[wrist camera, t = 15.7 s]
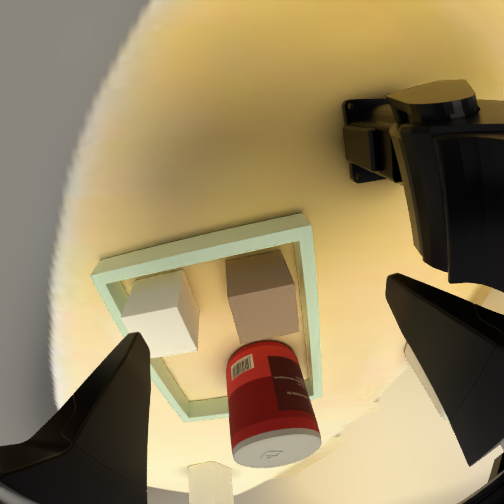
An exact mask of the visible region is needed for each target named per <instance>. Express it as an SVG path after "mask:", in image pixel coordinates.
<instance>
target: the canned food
mask: <svg viewBox="0 0 504 504" xmlns="http://www.w3.org/2000/svg"><path fill="white" fill-rule="evenodd" d="M226 379H227V395H228V410H229V423H230V436H231V445H232V453H233V458H234V461H235V462H236V463H238V464H240V465H243V466H247V467H252V468H270V467H278V466H283V465H288V464H291V463H294V462H297V461H300V460H302V459H304V458H306V457H308V456H310V455H311V454H313V453H314V452H315V451H317V450H318V449H319V447H320V446H321V436H320V432H319V429H318V424H317V421H316V418H315V414H314V411H313V408H312V405H311V401H310V398H309V395H308V392H307V389H306V385H305V382H304V379H303V376H302V372H301V369H300V366H299V363H298V360H297V357H296V356H295V354H294V353H293V352H292V350H291V349H290V348H289V347H287V346H286V345H284V344H281V343H278V342H273V341H263V342H256V343H253V344H249V345H247V346H245V347H243V348H241V349H240V350H238V351H237V352H236V353H235V354H234V355H233V356H232V357H231V359H230V361H229V363H228V366H227V370H226Z"/></svg>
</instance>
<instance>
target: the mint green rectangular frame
mask: <svg viewBox="0 0 504 504" xmlns="http://www.w3.org/2000/svg"><path fill="white" fill-rule="evenodd" d="M291 242H293V243H294V251H295V258H296V266H297V273H298V281H299V290H300V298H301V307H302V316H303V325H304V335H305V345H306V355H307V366H308V378H309V379H308V380H305V381H304V382H305V385H306V389H307V392H308V395H309V398H310V400H314V399H318V398H321V397H322V367H321V341H320V321H319V305H318V290H317V277H316V266H315V255H314V244H313V235H312V225H311V224H310V222H309V221H308V220H307V219H306V217H305V216H304V215H303V214H302V213H299V214H294V215H290V216H285V217H280V218H275V219H271V220H266V221H262V222H257V223H252V224H248V225H243V226H239V227H234V228H230V229H226V230H221V231H217V232H212V233H208V234H204V235H200V236H195V237H191V238H187V239H183V240H179V241H174V242H170V243H166V244H162V245H158V246H154V247H150V248H146V249H142V250H138V251H134V252H130V253H126V254H122V255H118V256H114V257H111V258H107V259H103V260H100V261H99V263H98V264H97V266H96V267H95V269H94V271H93V272H92V274H91V275H90V276H91V278H92V281H93V283H94V285H95V286H96V288H97V290H98V292H99V294H100V296H101V298H102V300H103V302H104V304H105V306H106V307H107V309H108V311H109V313H110V315H111V316H112V318H113V320H114V322H115V323H116V325H117V327H118V328H119V330H120V332H121V334H122V335H123V337H124V338H125V336H126V335H127V334H128V333H129V332H128V330H127V328H126V327H125V325H124V323H123V322H122V320H121V315H122V312H123V310H124V307H125V305H126V302H127V299H128V296H127V294H126V292H125V290H124V287H123V285H122V283H121V280H126V279H130V278H135V277H139V276H144V275H148V274H152V273H157V272H161V271H166V270H170V269H175V268H179V267H184V266H188V265H193V264H197V263H202V262H206V261H211V260H215V259H220V258H224V257H229V256H233V255H238V254H242V253H247V252H251V251H256V250H260V249H264V248H269V247H273V246H278V245H282V244H287V243H291ZM150 375H151V380H152V381H153V382H154V384H155V385H156V387H157V388H158V389H159V391H160V392H161V393H162V395H163V396H164V398H165V399H166V400H167V401H168V403H169V404H170V405H171V407H172V408H173V409H174V411H175V412H176V413H177V414H178V416H179V417H180V418H181V419H182V421H183V422H192V421H202V420H211V419H219V418H226V417H229V410H228V396H227V397H221V398H214V399H207V400H199V401H191V402H189V401H188V399H187V398H186V396H185V395H184V393H183V392H182V390H181V389H180V387H179V386H178V384H177V383H176V381H175V380H174V378H173V376H172V375H171V373H170V372H169V370H168V368H167V367H166V365H165V363H164V362H163V360H162V358H161V357H157V358H150Z"/></svg>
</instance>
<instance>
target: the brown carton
mask: <svg viewBox="0 0 504 504" xmlns="http://www.w3.org/2000/svg"><path fill="white" fill-rule="evenodd" d="M225 262H226V278H227V294H228V300H229V304H230V308H231V311H232V315H233V318H234V322H235V326H236V329H237V333H238V336H239V340H240V343H241V344H242V343H248V342H253V341H258V340H263V339H268V338H273V337H277V336H282V335H287V334H291V333H295V332H299V323H298V312H297V302H296V292H295V283H294V281H293V279H292V276H291V274H290V271H289V269H288V267H287V264H286V262H285V260H284V257H283V255H282V253H281V250H278V251H273V252H268V253H263V254H258V255H253V256H248V257H244V258H239V259H234V260H229V261H225Z"/></svg>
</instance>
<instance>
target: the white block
mask: <svg viewBox="0 0 504 504" xmlns="http://www.w3.org/2000/svg"><path fill="white" fill-rule="evenodd" d="M199 312H200V311H199V309H198V306H197V304H196V301H195V299H194V296H193V294H192V291H191V289H190V286H189V283H188V281H187V278H186V276H185V273H184V270H179V271H175V272H171V273H167V274H162V275H158V276H154V277H150V278H145V279H141V280H137V281H135V282H134V284H133V287H132V289H131V292H130V294H129V297H128V299H127V302H126V305H125V307H124V310H123V312H122V315H121V320H122V322H123V323H124V325H125V327H126V328H127V330H128V332H129V333H132V332H140V333H141V335H142V336H143V338H144V340H145V342H146V343H147V345H148V347H149V349H150V358H157V357H164V356H170V355H177V354H183V353H189V352H195V351H198V331H199Z"/></svg>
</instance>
